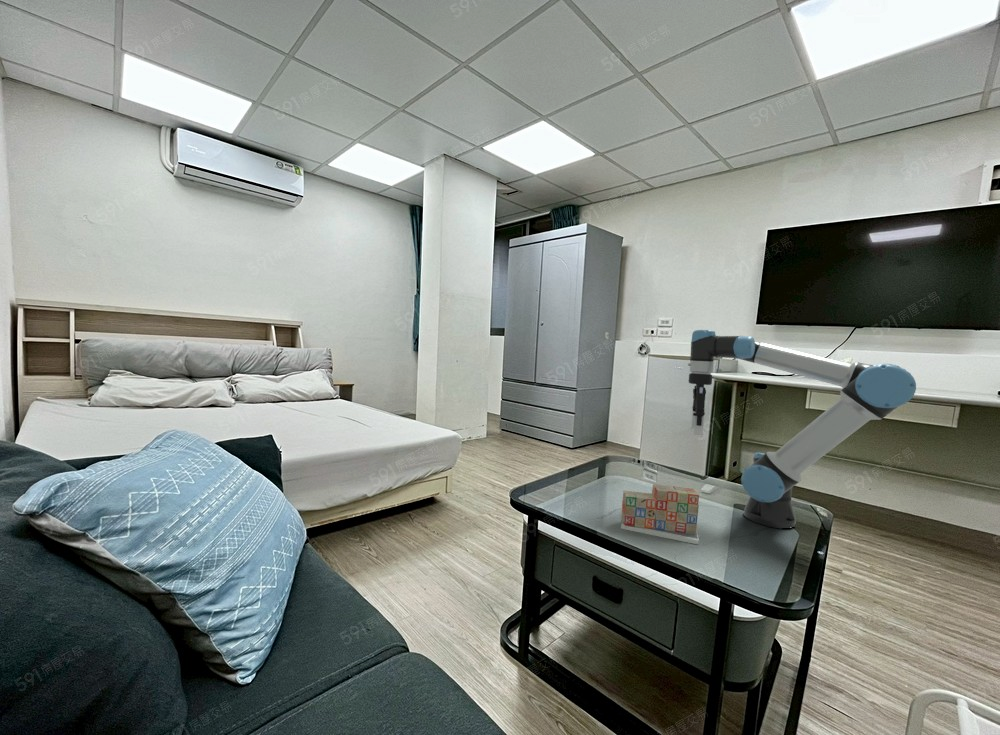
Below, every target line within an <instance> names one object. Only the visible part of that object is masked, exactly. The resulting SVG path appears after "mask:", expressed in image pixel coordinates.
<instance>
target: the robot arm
mask: <svg viewBox="0 0 1000 735" xmlns="http://www.w3.org/2000/svg"><path fill="white" fill-rule="evenodd" d="M691 334H692V335H691V342H690V359H689V360H690V362H689V363H687V366H688V367H689V372H691V373H689V374H688V383H689V384H692V385H694V388H693V389H692V393H693V396H692V398H693V401H692V414H691V430H693V436H694V435H695V436H703V433H704V432H703V431H704V418H705V415H706V413H705V406H706V405H705V404H706V402H705V401H706V395H707V390H706V387H705V385H706V386H711V385H712V384H713V374H712V373H714V358H726V359H727V358H729V359H736V360H741V361H745V362H749V363H754V364H757V365H760V366H763V367H764V366H765V367H768V368H772V369H775V370H779V371H783V372H787V373H790V374H794V375H797V376H801V377H805V378H808V379H812V380H816V381H820V382H823V383H827V384H831V385H834V386H838V387H841V390H840V398H839V399H838V400H837V401H835V402H834V403H833V404H832V405H831V406H830V407H829V408H827V409H826V410H825V411H824V412H822V413H821V414H820V415H818V417H817V418H815V419H813V420H812V421H811V422H810V423H809V424H808V425H806V426H805V427H804V428H803V429H802V430H800V431H799V432H798V433H797V434H796V435H795V436H793V437H792V438H791V439H789V441H787V442H786V443H785V444H784V445H782V446H780V448H779V449H777V451H766V452H765V453H764V452H755V453H754V455H753V457H752V458H753V459H752V461H753V463H752V464H751V465H750V466H747V467H746V468H745V469H744V470H743V472H742V475H741V477H740V478H741V479H740V481H741V482H740V483H741V485H742V488H743V490H744V491H745V492H746V494H747V495H748V496H749V498H748V500H747V502H746V504H745V506H744V510H743V516H744V517H745V518H746V519H747V520H749V521H752V522H753V523H756V524H759V525H762V526H766V527H770V528H774V529H781V530H782V528H790V527H793V526H794V525H795V524H797V518H796V515H795V512H794V509H793V504H792V494H793V487H794V486H796V485H797V484H799V483H800V482H801V481H802V477H801V474H802V473H804V471H806V470H807V469H809V467H811V466H812V465H813V464H815V463H816V462H817V461H819V460H820V459H822V457H824V456H825V455H827V454H828V453H829V452H831V451H832V450H833V449H834V448H835V447H837V446H838V445H839V444H840V443H842V442H843V441H844V440H846V439H847V438H849V436H851V435H852V434H854V433H855V432H856V431H858V430H859V429H860V428H861V427H863V426H864V425H865V424H867V423H868V422H869V421H871V420H872V421H873V420H874V421H875V420H876V421H877V420H879V421H880V420H883V419H884V418H885V417H886V416H888V415H889V414H891V413H892V412H893V411H894V410H895V409H897V408H898V407H900V406H903V405H905V404H907V403H908V402H909V401H911V399H912V398H913V397H914V396H915V393H916V391H917V383H916V380H915V378H914V376H913V375H912V373H911V372H909V371H907V370H906V369H905V368H903V367H901V366H899V365H896V364H892V363H879V364H867V363H862V362H859V361H856V362H853V363H848V362H843V361H840V360H836V359H832V358H827V357H822V356H818V355H815V354H810V353H808V352H807V353H806V352H802V351H798V350H793V349H790V348H786V347H780V346H778V345H777V346H776V345H773V344H768V343H763V342H759V341H755V338H754V337H753V336H750V335H749V336H747V335H721V336H720V335H716V331H715V330H713V329H697V330H694V331H693V332H692V333H691Z"/></svg>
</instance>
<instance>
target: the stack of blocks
mask: <svg viewBox="0 0 1000 735" xmlns="http://www.w3.org/2000/svg"><path fill="white" fill-rule="evenodd" d="M651 489H652V490H651V493H650V492H643V491H632V490H631V491H630V490H623V492H622V502H621V503H622V504H621V506H622V507H621V520H623V523H624V525H629V526H636V527H645V528H651V529H660V530H667V531H675V532H682V533H689V534H696V530H697V531H698V529H697V526H698V515H699V508H700V507H699V501H700V500H699V499H700V494H698V492H697V491H696V490H695V489H694V488H690V487H689V488H688V487H682V486H676V485H675V486H672V485H663V484H656V483H655V484H652V488H651Z"/></svg>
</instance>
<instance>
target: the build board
mask: <svg viewBox="0 0 1000 735" xmlns="http://www.w3.org/2000/svg"><path fill="white" fill-rule="evenodd" d="M621 520H622V519H621ZM620 529H621V530H626V531H631V532H636V533H640V534H646V535H650V536H655V537H659V538H660V537H661V538H665V539H670V540H674V541H679V542H683V543H687V544H694V545H699V542H700V539H699V535H698V534H699V533H698V529H697V530H696V534H689V533H682V532H675V531H667V530H660V529H651V528H645V527H636V526H629V525H624V523H623V520H622V521H621V523H620Z"/></svg>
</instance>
